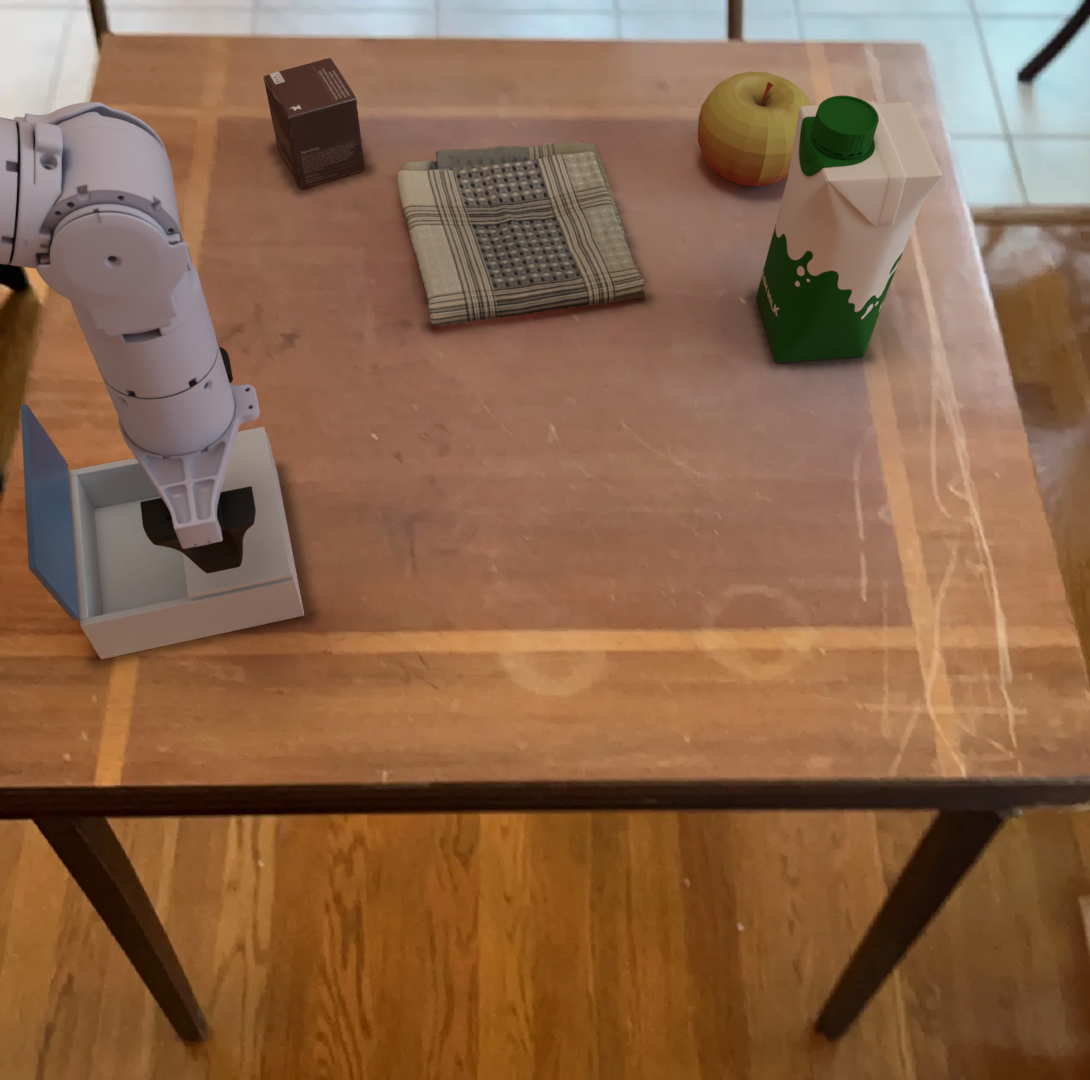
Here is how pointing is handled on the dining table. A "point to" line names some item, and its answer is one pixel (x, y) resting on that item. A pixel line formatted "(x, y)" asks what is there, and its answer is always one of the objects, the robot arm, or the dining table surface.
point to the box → (315, 122)
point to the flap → (48, 514)
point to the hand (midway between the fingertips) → (214, 510)
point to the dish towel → (516, 231)
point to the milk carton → (842, 225)
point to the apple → (751, 127)
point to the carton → (176, 560)
